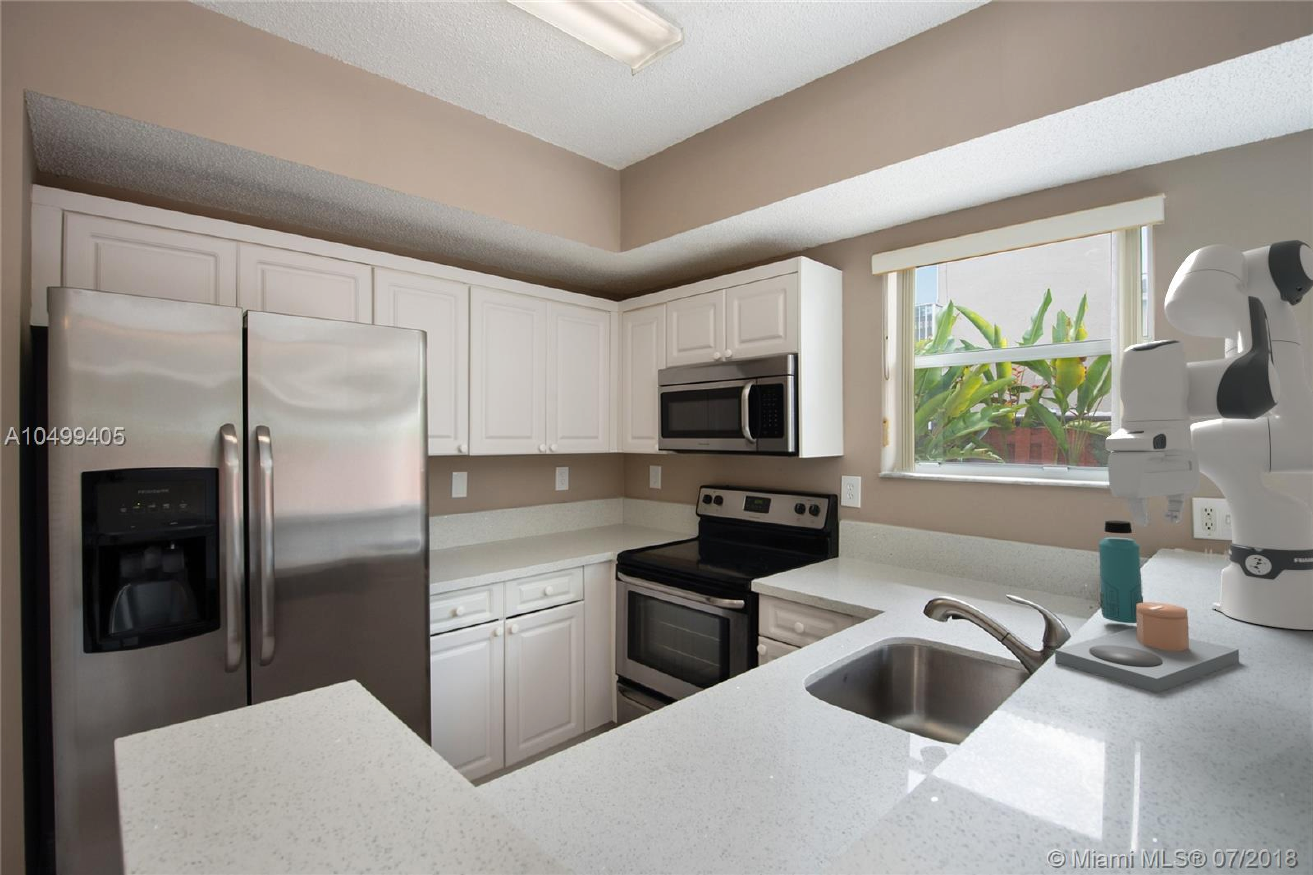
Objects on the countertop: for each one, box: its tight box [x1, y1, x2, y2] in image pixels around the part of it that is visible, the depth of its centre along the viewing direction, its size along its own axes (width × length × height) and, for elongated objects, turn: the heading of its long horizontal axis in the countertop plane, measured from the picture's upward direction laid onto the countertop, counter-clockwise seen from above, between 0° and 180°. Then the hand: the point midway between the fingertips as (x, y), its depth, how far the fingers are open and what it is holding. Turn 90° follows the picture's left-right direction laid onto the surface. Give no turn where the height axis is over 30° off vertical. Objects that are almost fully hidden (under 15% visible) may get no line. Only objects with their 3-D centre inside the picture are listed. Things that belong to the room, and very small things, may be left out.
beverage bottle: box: [1098, 519, 1144, 624], centre depth 116 cm, size 6×7×20 cm
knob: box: [1136, 601, 1190, 651], centre depth 100 cm, size 6×6×6 cm
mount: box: [1054, 626, 1240, 694], centre depth 97 cm, size 24×14×6 cm, turn 116°
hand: (1158, 523), depth 100 cm, fingers open, 8 cm apart
